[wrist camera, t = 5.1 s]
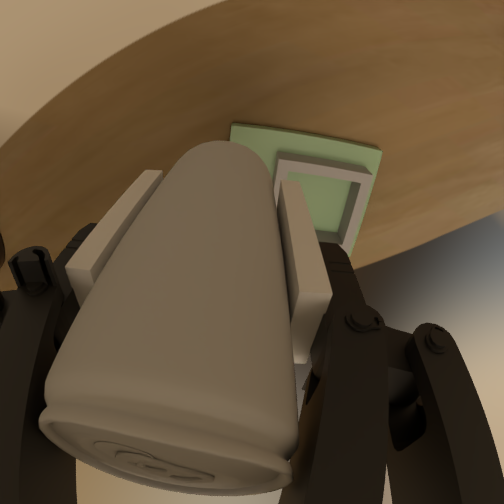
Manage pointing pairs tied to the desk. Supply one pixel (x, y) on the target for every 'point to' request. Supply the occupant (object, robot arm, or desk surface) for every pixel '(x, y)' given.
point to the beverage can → (186, 340)
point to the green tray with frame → (318, 175)
